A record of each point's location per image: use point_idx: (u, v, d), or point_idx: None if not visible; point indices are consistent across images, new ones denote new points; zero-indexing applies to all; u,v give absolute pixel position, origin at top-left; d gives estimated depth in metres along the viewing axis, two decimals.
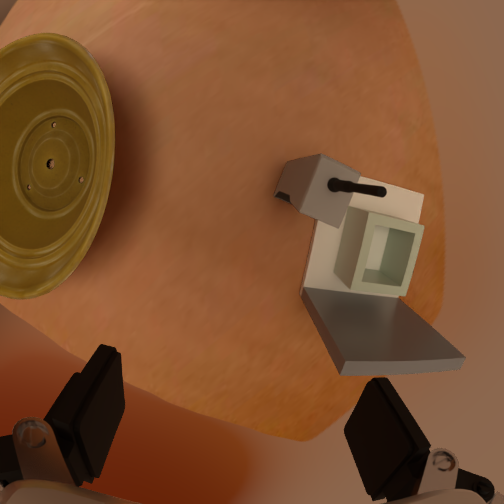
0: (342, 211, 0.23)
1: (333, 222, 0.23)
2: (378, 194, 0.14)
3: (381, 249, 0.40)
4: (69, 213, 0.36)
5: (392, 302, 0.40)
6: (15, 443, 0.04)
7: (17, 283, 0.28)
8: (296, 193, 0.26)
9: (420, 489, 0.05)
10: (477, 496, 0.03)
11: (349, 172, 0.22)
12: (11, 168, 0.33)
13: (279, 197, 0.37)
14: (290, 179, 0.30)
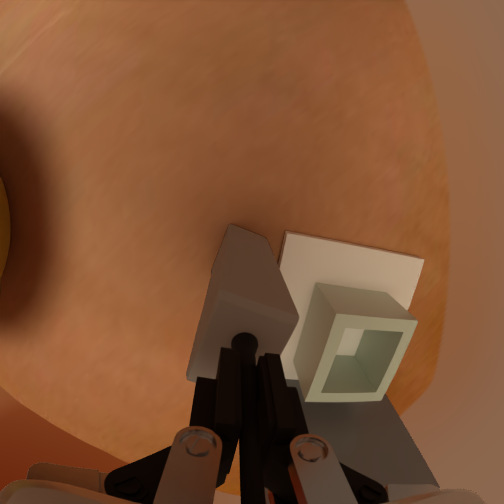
0: None
1: None
2: None
3: (359, 333, 0.31)
4: None
5: None
6: (184, 457, 0.06)
7: None
8: (199, 326, 0.16)
9: (306, 494, 0.05)
10: (477, 496, 0.03)
11: (274, 322, 0.12)
12: None
13: None
14: (214, 274, 0.21)
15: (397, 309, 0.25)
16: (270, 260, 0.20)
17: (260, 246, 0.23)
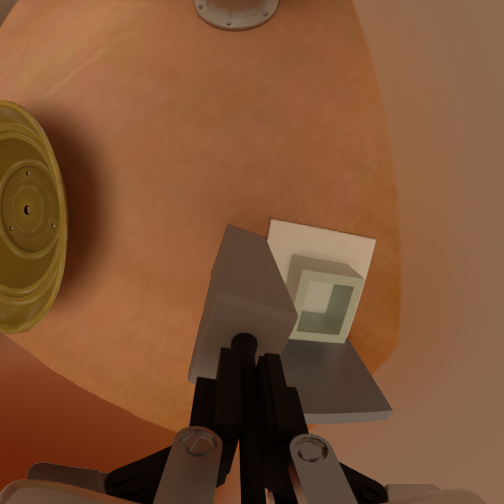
0: None
1: None
2: None
3: (328, 294, 0.43)
4: (45, 256, 0.39)
5: (338, 343, 0.43)
6: (184, 457, 0.06)
7: (3, 319, 0.31)
8: (200, 328, 0.16)
9: (306, 494, 0.05)
10: (477, 496, 0.03)
11: (272, 322, 0.12)
12: None
13: None
14: (213, 275, 0.21)
15: (350, 272, 0.38)
16: (269, 259, 0.20)
17: (259, 246, 0.23)
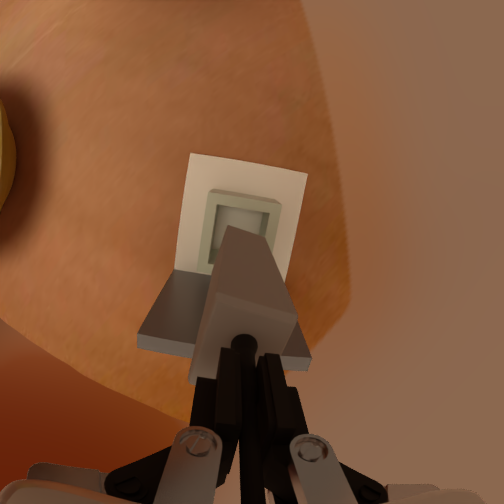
0: None
1: None
2: None
3: (255, 233, 0.41)
4: None
5: None
6: (184, 457, 0.06)
7: None
8: (200, 329, 0.16)
9: (306, 494, 0.05)
10: (477, 496, 0.03)
11: (272, 323, 0.12)
12: None
13: None
14: (213, 276, 0.21)
15: (269, 200, 0.35)
16: (268, 260, 0.20)
17: (258, 246, 0.23)
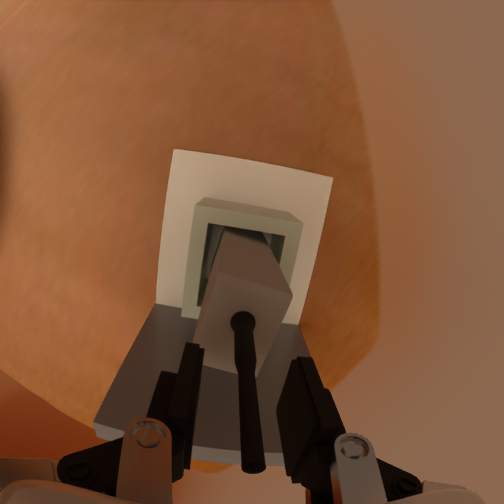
0: (260, 357, 0.14)
1: None
2: (245, 471, 0.06)
3: None
4: None
5: (281, 332, 0.30)
6: (132, 447, 0.05)
7: None
8: (201, 312, 0.17)
9: (342, 487, 0.05)
10: (477, 496, 0.03)
11: (269, 300, 0.14)
12: None
13: None
14: (213, 265, 0.22)
15: (284, 216, 0.25)
16: (266, 249, 0.22)
17: (256, 238, 0.25)
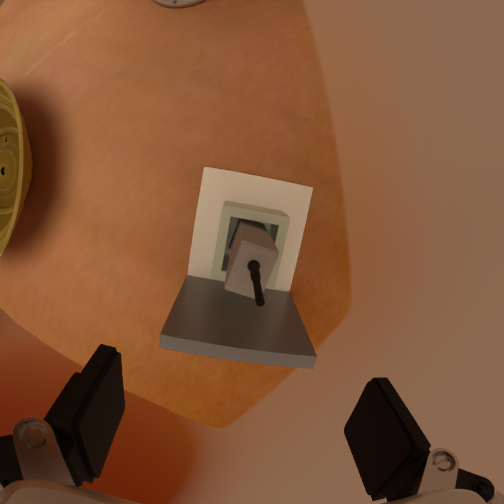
0: (262, 286, 0.28)
1: (254, 295, 0.28)
2: (257, 304, 0.20)
3: None
4: None
5: (277, 295, 0.44)
6: (15, 443, 0.04)
7: None
8: (229, 266, 0.31)
9: (420, 489, 0.05)
10: (477, 496, 0.03)
11: (266, 254, 0.27)
12: None
13: None
14: (233, 243, 0.36)
15: (278, 213, 0.39)
16: (266, 233, 0.35)
17: (260, 227, 0.38)
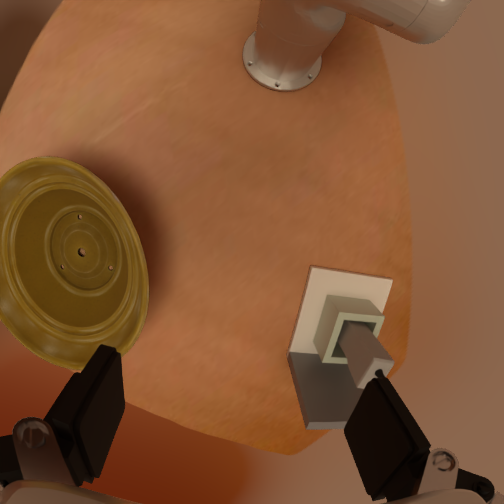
0: None
1: None
2: None
3: None
4: (103, 295, 0.47)
5: None
6: (15, 443, 0.04)
7: (69, 356, 0.39)
8: (353, 367, 0.38)
9: (420, 489, 0.05)
10: (477, 496, 0.03)
11: (387, 364, 0.34)
12: (43, 250, 0.44)
13: None
14: (345, 340, 0.43)
15: (373, 310, 0.46)
16: (370, 332, 0.42)
17: (360, 322, 0.45)
